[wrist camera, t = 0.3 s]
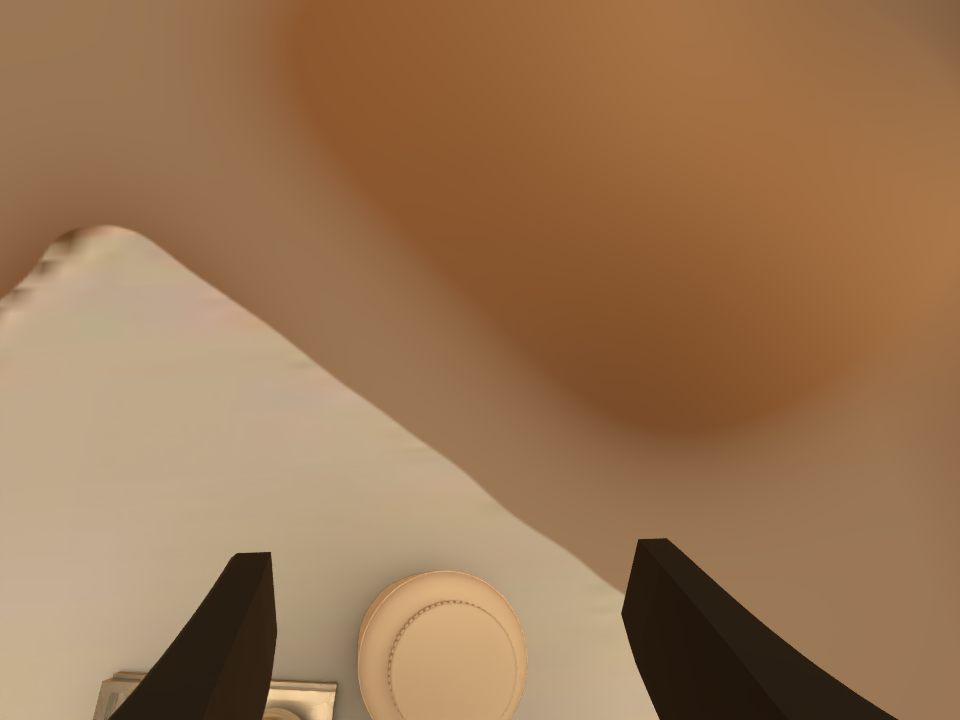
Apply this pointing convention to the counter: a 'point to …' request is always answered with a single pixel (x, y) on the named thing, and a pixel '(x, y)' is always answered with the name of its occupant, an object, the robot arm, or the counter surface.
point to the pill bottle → (441, 651)
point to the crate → (296, 696)
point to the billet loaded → (279, 714)
